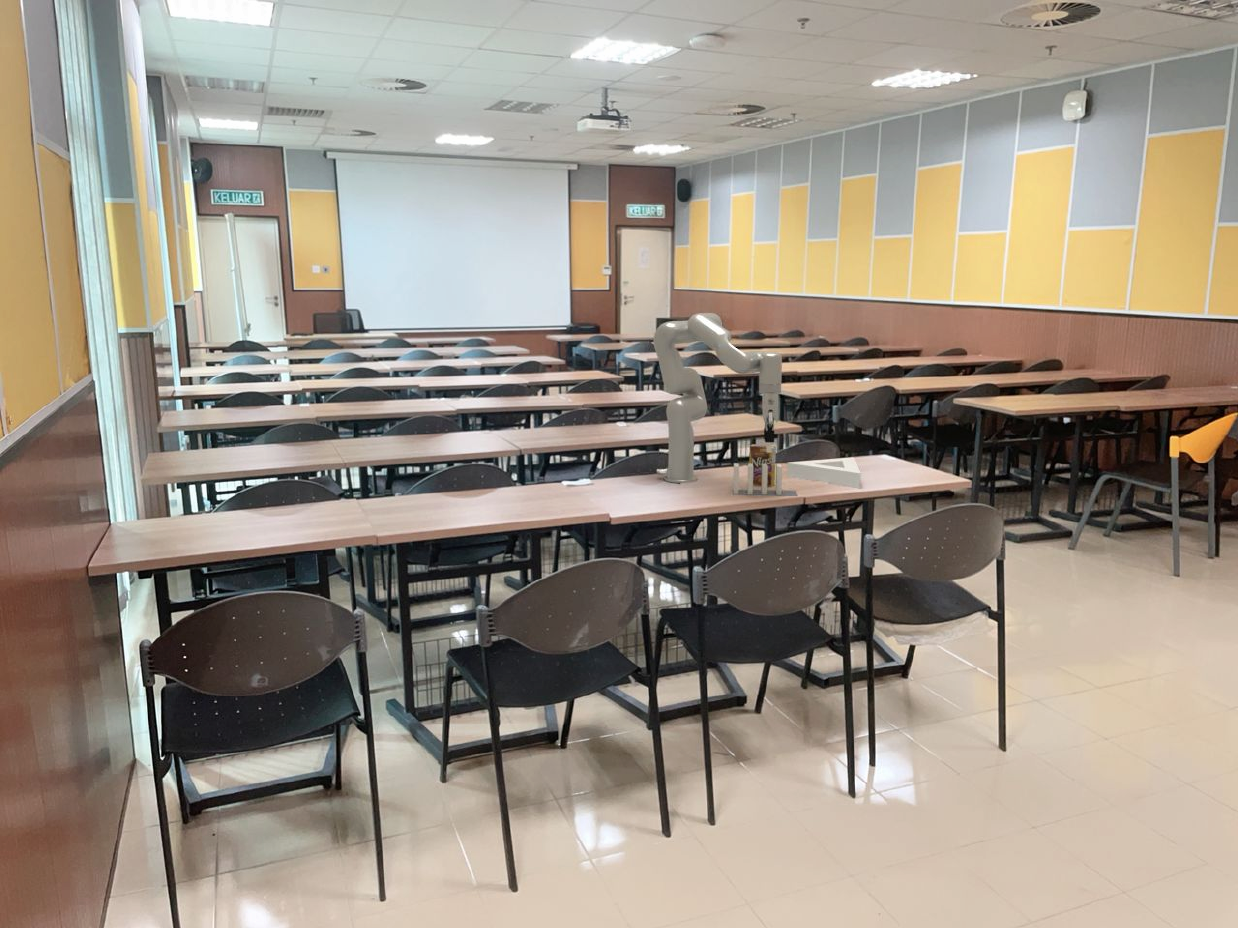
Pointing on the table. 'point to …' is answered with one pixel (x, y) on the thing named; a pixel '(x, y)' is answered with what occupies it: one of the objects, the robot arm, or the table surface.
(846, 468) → the triangle block
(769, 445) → the domino
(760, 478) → the candy box
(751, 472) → the domino
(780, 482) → the domino
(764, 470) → the domino
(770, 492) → the mat
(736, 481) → the domino
